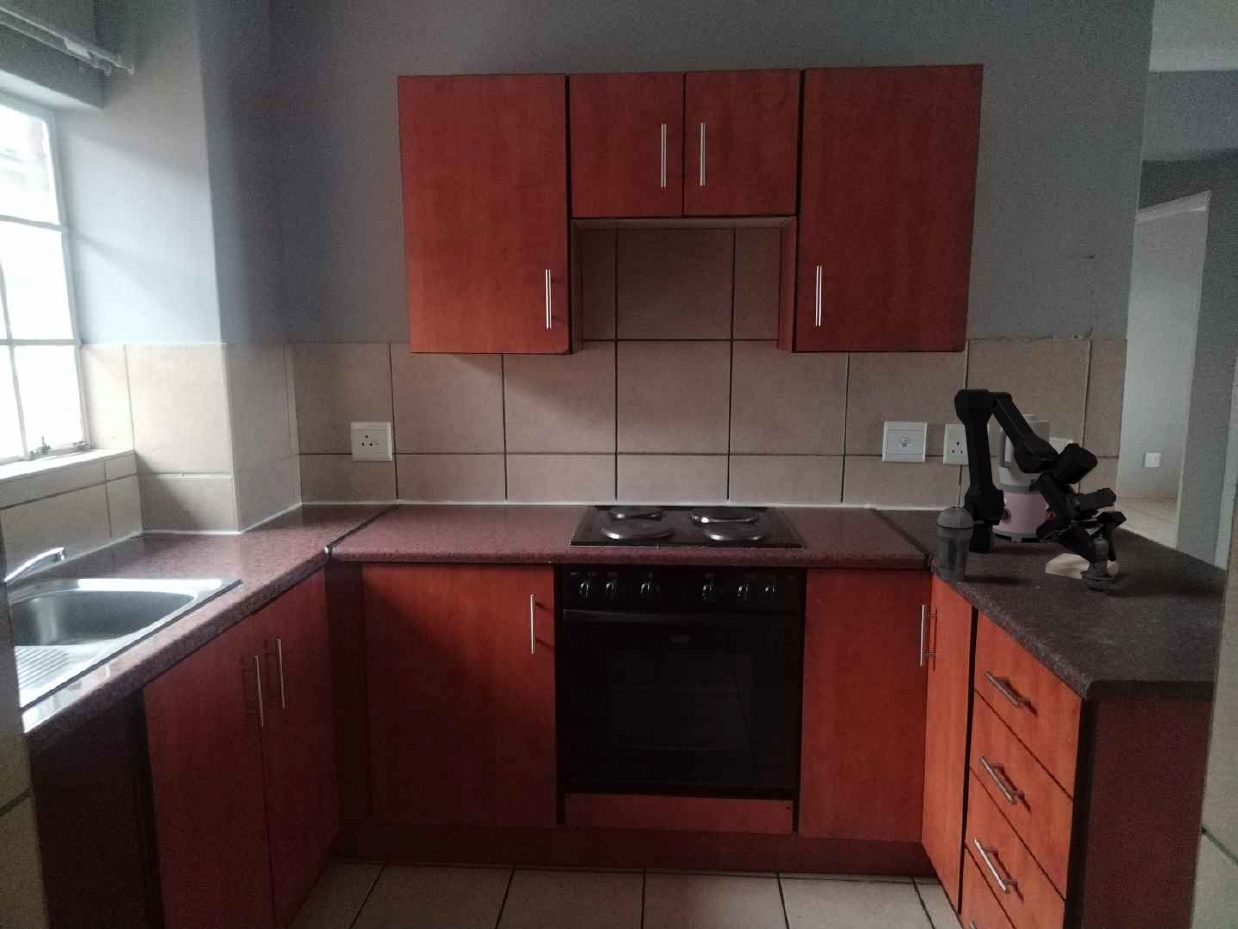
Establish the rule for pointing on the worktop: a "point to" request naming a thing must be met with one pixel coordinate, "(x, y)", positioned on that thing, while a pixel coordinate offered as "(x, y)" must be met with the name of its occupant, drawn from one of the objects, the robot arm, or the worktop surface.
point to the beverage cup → (954, 540)
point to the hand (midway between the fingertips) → (1105, 561)
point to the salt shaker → (1098, 570)
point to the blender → (1020, 488)
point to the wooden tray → (1074, 566)
